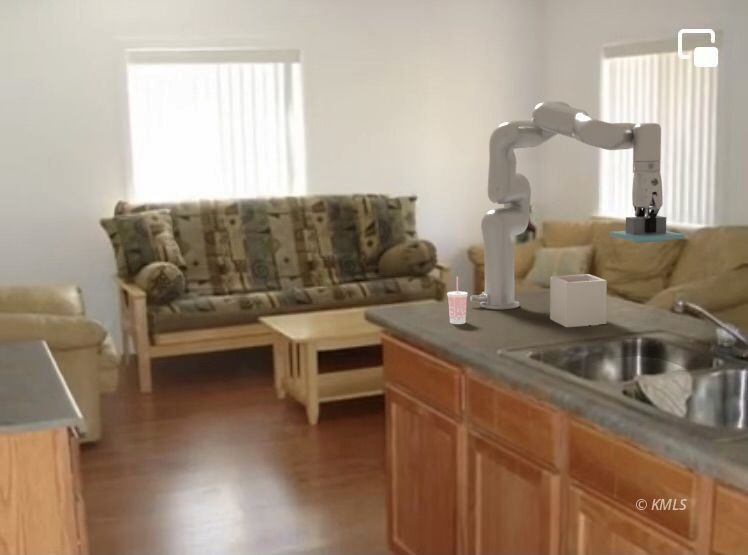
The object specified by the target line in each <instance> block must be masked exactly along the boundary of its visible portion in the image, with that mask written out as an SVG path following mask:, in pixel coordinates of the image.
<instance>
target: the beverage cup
mask: <svg viewBox="0 0 748 555" xmlns="http://www.w3.org/2000/svg"><path fill="white" fill-rule="evenodd" d="M446 295H447V298H448V301H447V302H448V312H449V313H448V314H449V323H450V324H451V325H452V324H453V325H463V324H465V323H466V319H467V318H466V317H467V300H468V299H467V298H468V292H466V291H459V276H457V275H456V290H454V291H449V292H447V293H446Z"/></svg>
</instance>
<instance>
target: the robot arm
mask: <svg viewBox="0 0 748 555" xmlns="http://www.w3.org/2000/svg"><path fill="white" fill-rule="evenodd" d="M531 118H532V119H530V120H528V119H527V120H518V119H517V120H510V121H506V122H503V123H501V124H500V125H498V126H496V127H495V129H494V130H493V131H492V133H491V135H490V138H489V142H488V143H489V144H488V145H489V146H488V147H489V148H488V151H489V163H488V175H487V177H488V178H487V197H488V199H489V200H490V202H492V203H493V204H495V205H503V207H498V208H493V209H491V210H489V211H486V213H485V214H484V215H483V217H482V219H481V224H480V226H481V229H480V230H481V233H482V234H481V235H482V237H483V246H484V247H483V249H484V250H483V252H484V253H483V254H484V258H483V259H484V291H481V293H480V294H479V295H475V294H474V295H470V297H469V299H470V302H476V303H478V302H479V307H480V308H482V309H487V310H512V309H516V308H518V307H520V302H519V301H517V300H515V248H514V244H513V241H512V238H511V237H516V236H519V235H522V234H523V233H524V232H525V231H526V230H527V228H528V226H529V222H530V214H531V213H530V210H531V197H532V196H531V193H532V189H531V184H530V182H529V179H528V178H527V177H526V176H525V175H524V174H522V173H519V172H517V157H516V153H515V152H514V151H515V150H516V149H526V148H535V147H539V146H541V145H543V144H544V143H546V142H547V141H549V140H550V139H552V138H554V137H555V136H557V135H561V136H565V137H569V138H572V139H576V140H577V141H578V142H581V143H583V144H586V145H588V146H592V147H595V148H599V149H602V150H605V151H607V150H608V151H618V150H619V151H620V150H621V151H622V150H631V149H632V150H633V151H632V173H633V179H632V191H631V192H632V194H631V195H632V197H631V199H632V206H633V209H634V212H635V213H634V217H644V216H646V217H647V218H646V219H645V232H646V233H652V232H656V218H657V216H658V214H659V212H660V210H661V207H663V204H664V202H663V200H664V198H663V181H662V175H661V158H662V157H661V156H662V154H661V153H662V152H661V151H662V146H661V145H662V126H661V125H660V124H659V123H655V122H647V123H645V122H644V123H631V122H616V123H611V122H606V121H603V120H599V119H595V118H593V117H590V116H589V114H588V112H587V111H586V110H583V109H580V108H576V107H572V106H570V105H569V104H568V103H566V102H564V101H561V100H560V101H555V100H554V101H553V100H552V101H543V102H540V103H538V104H536V106H535V107H534V108H533V111H532V113H531Z"/></svg>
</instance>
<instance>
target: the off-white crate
mask: <svg viewBox="0 0 748 555" xmlns="http://www.w3.org/2000/svg"><path fill="white" fill-rule="evenodd" d="M549 278H550V280H549V290H550V292H549V319H550V320H551V321H553V322H555V323H556V324H559V325H560V326H563V327H565V328H575V327H587V326H588V327H589V325H591V326H600V325H599V324H606V325H607V292H608V291H607V288H608V287H607V286H608V285H607V284H608V281H607V279H603V278H600V277H598V276H596V275H592V274H589V273H586V274H570V275H569V274H568V275H553V276H552V275H551V276H550V277H549Z"/></svg>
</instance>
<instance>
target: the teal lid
mask: <svg viewBox="0 0 748 555" xmlns="http://www.w3.org/2000/svg"><path fill="white" fill-rule="evenodd" d="M646 218H647V217H646V215H645V216H644V217H636V216H628V217H627V216H626V217H625V230H620V231H619V230H618V231H616V230H615V231H609V236H610V237H613V238H617V239H621V240H624V241H630V242H634V243H640V244H641V243H653V242H654V243H657V242H669V240H684V234H682V233H677V232H672V231H669V230H667V216H661V215H657V218H656V232H652V233H646V232H645V219H646Z"/></svg>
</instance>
